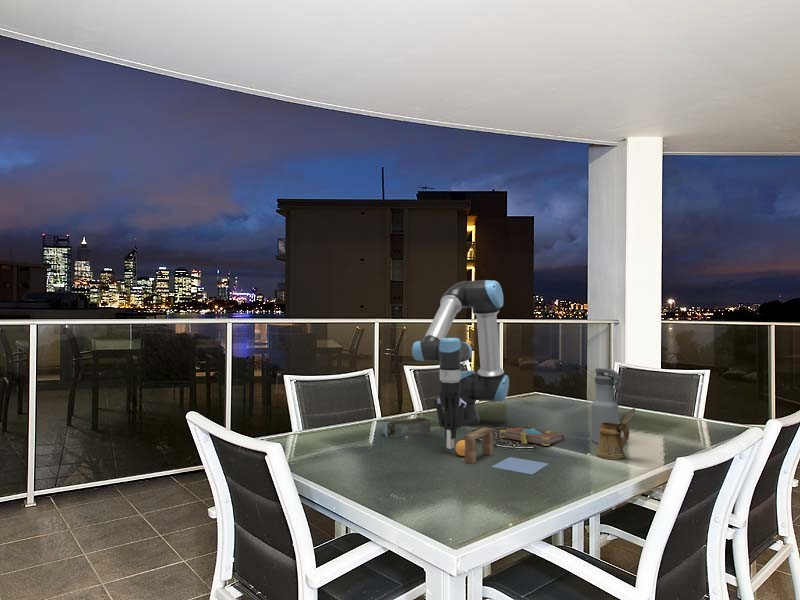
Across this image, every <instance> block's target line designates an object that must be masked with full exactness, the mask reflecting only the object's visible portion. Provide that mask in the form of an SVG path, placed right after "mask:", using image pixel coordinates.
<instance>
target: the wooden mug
mask: <svg viewBox="0 0 800 600" xmlns="http://www.w3.org/2000/svg"><path fill="white" fill-rule="evenodd" d="M635 414H636V408H635V407H633V408H632V409H630V410H629V411H627V412H626V413H625V414H624V415H623V416H622V418H621V420H620V422H619V423H617V424H616V423H609V422H605V423H601V427H600V429H599V432H600V436H599V444H598V443H597V444H598V446H597V450H596V457H598V458H600V459H604V460H612V461H613V460H614V461H618V460H622V459H624V458H625V456H626V455H625V451H624V446H625V445H626V443H627V442H628V440H629V438H630V429H629V427H628V425H627V424H628V423H629V422H630V420H632V418H633V417H634V415H635ZM622 432H623V437H622V435H621V434H622Z"/></svg>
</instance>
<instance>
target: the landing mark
mask: <svg viewBox="0 0 800 600" xmlns="http://www.w3.org/2000/svg"><path fill="white" fill-rule="evenodd" d="M547 466H549V463H546V462H541V461H535V460H529V459H524V458H518V457H511V456H509V457H507V458H505V459H502V460H500V461H499V462H497V463H495V464H494V465H492V466H490V468H493V469H498V470H504V471H508V472H514V473H520V474H526V475H532V476H533V475H535V473H538V472H539V471H540V470H541V471H542V469H544V468H545V467H547Z"/></svg>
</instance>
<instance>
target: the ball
mask: <svg viewBox="0 0 800 600" xmlns="http://www.w3.org/2000/svg"><path fill="white" fill-rule="evenodd" d="M454 448H455V451H456V453H457V455H459V456H460V457H465V439H460V440H459V441H457V442H456V444H455V446H454Z"/></svg>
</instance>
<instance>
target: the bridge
mask: <svg viewBox="0 0 800 600" xmlns="http://www.w3.org/2000/svg"><path fill="white" fill-rule="evenodd" d="M493 431H494V429H493V427H486V426H485V427H482V428H479V429H476V430H475V431H474V430H473V431H472V432H469V433H467V434H465V435H464V440H465V456H464V463H465V464H471V465H473V464H476V462H477V457H476V455H477V453H476V451H477V450H476V449H477V447H476V444H477V441H476V439H478V438H480V437H482V439H481V441H482V455H484V456H489V457H490V456H493V454H494V453H493V452H494V447H493V444H494V440H493V439H494V437H493V433H494V432H493Z"/></svg>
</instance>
